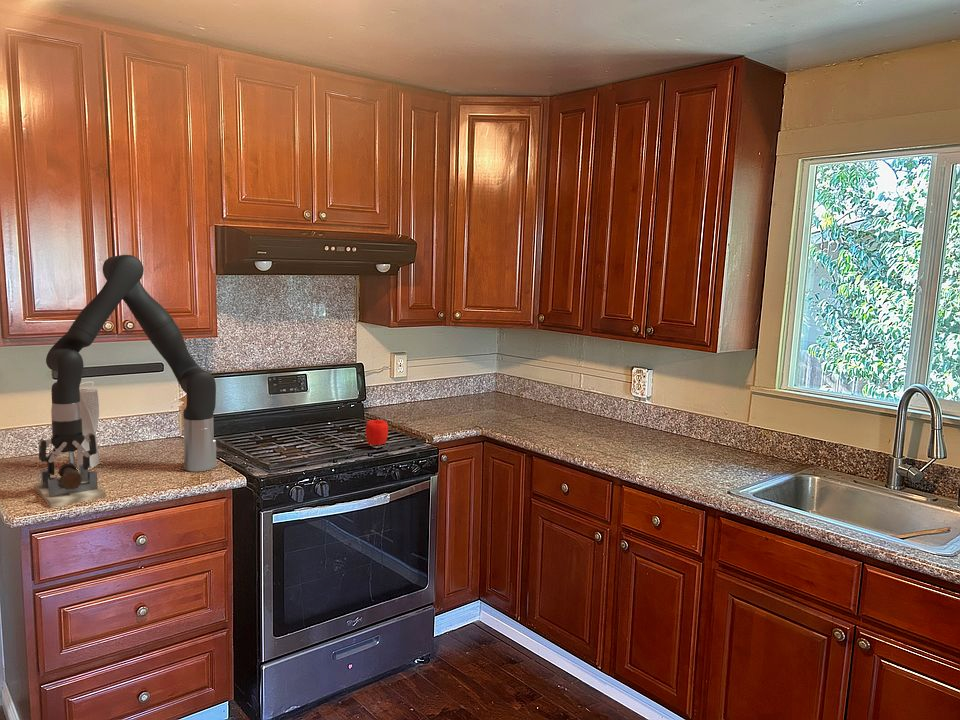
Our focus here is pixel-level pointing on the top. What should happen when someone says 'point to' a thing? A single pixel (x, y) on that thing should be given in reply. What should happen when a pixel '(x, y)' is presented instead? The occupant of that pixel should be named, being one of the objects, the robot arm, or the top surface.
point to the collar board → (68, 496)
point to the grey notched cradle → (54, 490)
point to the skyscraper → (88, 424)
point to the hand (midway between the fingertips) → (69, 471)
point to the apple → (376, 432)
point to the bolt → (69, 476)
